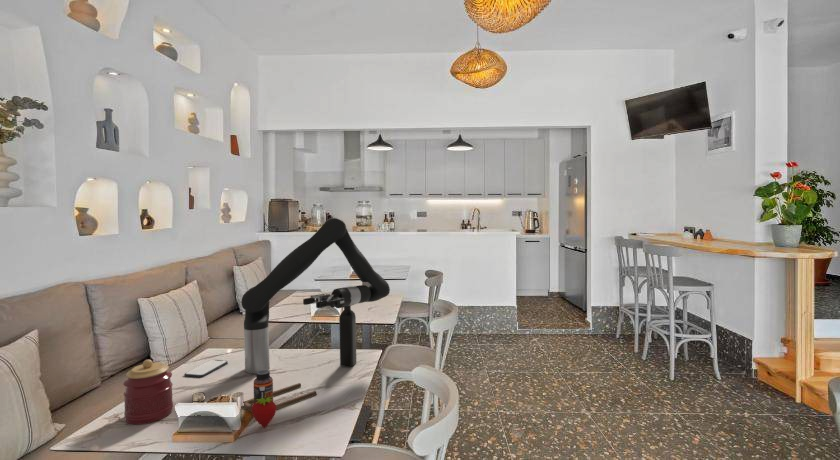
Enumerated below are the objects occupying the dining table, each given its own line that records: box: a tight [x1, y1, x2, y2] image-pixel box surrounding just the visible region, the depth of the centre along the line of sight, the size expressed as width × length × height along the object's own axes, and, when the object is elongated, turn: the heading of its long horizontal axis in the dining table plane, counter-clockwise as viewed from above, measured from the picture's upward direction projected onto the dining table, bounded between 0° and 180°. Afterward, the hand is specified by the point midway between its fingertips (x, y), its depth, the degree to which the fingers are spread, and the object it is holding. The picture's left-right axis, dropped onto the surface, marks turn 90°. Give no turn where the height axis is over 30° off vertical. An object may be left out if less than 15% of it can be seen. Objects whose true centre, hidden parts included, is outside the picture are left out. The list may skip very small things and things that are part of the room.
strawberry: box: [250, 395, 278, 428], centre depth 125 cm, size 6×8×10 cm
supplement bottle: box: [253, 369, 274, 404], centre depth 138 cm, size 6×6×11 cm
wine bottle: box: [338, 306, 357, 368], centre depth 175 cm, size 6×6×30 cm
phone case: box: [184, 359, 229, 379], centre depth 172 cm, size 9×2×16 cm
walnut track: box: [242, 382, 317, 412], centre depth 143 cm, size 11×21×1 cm, turn 137°
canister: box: [122, 359, 174, 425], centre depth 133 cm, size 13×13×18 cm
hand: (310, 303), depth 154 cm, fingers open, 8 cm apart
